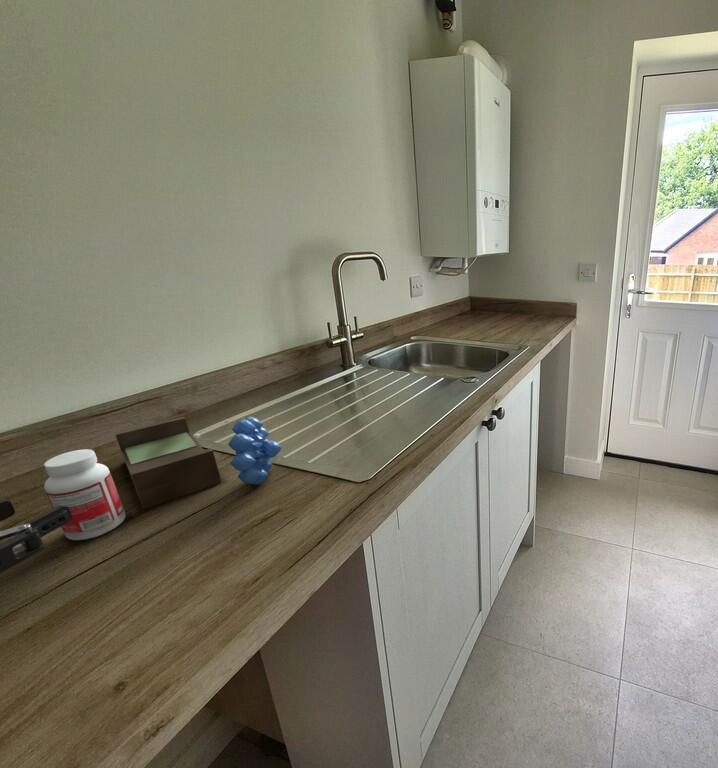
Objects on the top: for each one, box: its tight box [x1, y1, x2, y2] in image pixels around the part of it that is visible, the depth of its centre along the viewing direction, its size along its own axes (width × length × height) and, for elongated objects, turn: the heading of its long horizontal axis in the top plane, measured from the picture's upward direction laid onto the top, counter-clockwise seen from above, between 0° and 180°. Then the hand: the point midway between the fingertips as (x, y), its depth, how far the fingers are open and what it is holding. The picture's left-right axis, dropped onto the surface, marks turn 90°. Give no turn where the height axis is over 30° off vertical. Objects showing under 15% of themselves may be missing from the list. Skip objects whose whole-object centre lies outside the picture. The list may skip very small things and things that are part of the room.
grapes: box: [227, 416, 283, 486], centre depth 66 cm, size 12×7×12 cm, turn 16°
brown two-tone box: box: [114, 416, 222, 510], centre depth 70 cm, size 10×21×6 cm, turn 48°
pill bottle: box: [43, 448, 126, 541], centre depth 56 cm, size 6×6×11 cm
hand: (38, 508), depth 51 cm, fingers open, 8 cm apart
